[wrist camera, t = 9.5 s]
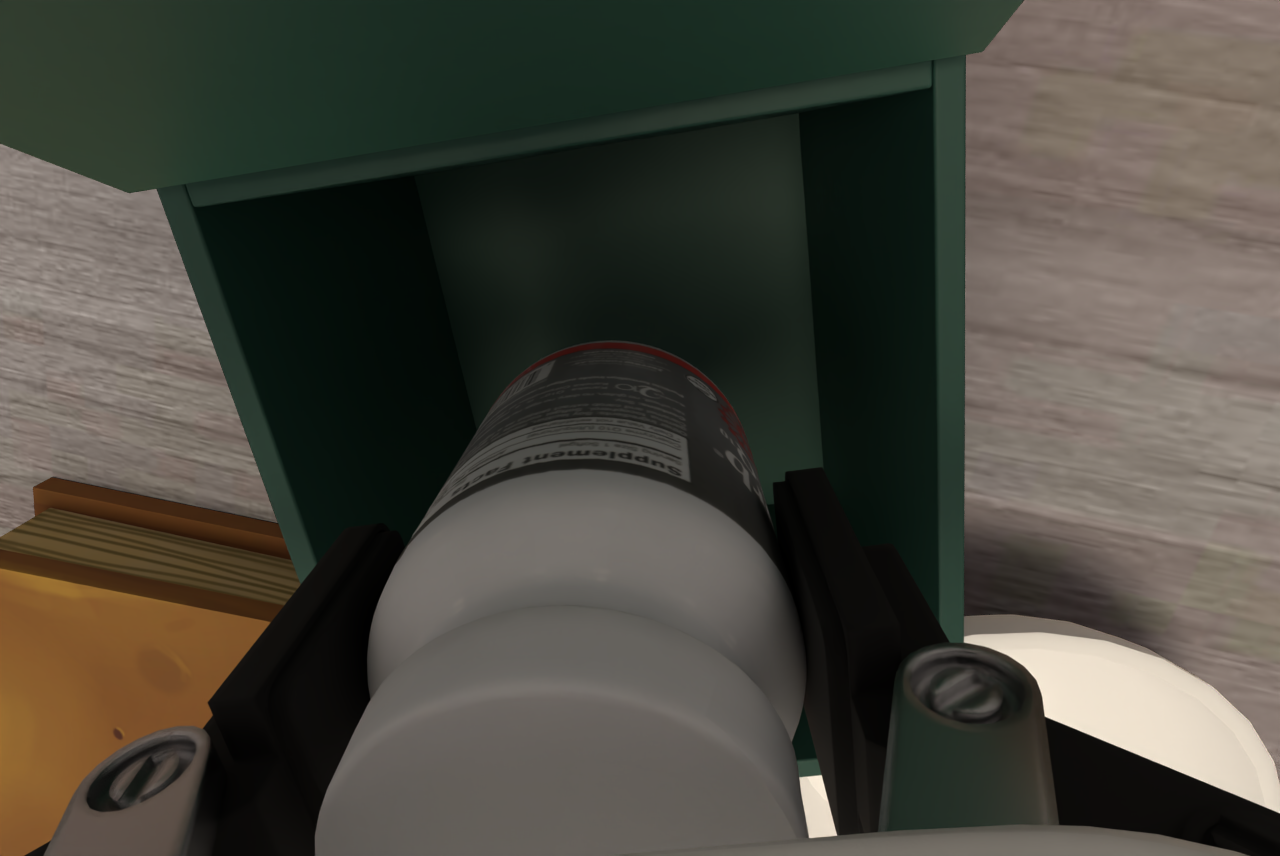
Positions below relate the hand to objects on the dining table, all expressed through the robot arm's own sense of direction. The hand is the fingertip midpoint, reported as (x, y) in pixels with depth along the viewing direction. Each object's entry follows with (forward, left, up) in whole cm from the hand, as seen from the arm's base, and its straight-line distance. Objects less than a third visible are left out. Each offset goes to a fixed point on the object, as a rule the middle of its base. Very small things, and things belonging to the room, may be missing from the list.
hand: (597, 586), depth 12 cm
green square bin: (0, 0, -15) cm, 15 cm away
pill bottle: (0, 0, -5) cm, 5 cm away
